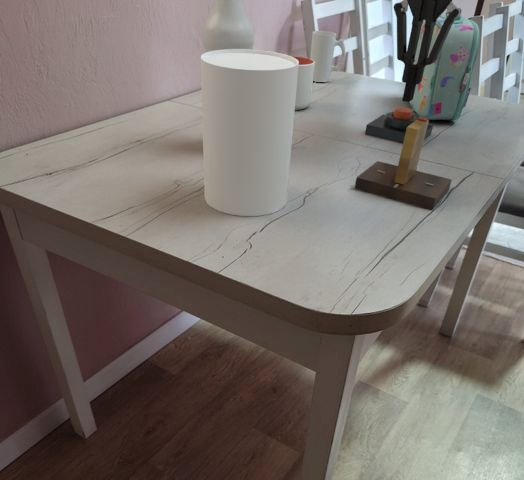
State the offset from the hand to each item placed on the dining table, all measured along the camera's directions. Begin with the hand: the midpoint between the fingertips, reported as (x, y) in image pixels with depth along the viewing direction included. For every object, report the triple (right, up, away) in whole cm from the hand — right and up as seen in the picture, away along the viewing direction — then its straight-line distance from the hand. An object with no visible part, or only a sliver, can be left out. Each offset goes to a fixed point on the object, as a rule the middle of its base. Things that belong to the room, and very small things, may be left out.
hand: (407, 100), depth 104 cm
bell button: (-1, -3, +3) cm, 4 cm away
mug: (-13, +26, +40) cm, 50 cm away
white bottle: (-38, -13, -6) cm, 41 cm away
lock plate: (-6, -25, -18) cm, 32 cm away
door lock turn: (-6, -24, -20) cm, 31 cm away
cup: (-24, +8, +19) cm, 32 cm away
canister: (-34, -29, -24) cm, 50 cm away
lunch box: (+12, +7, +21) cm, 25 cm away
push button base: (-1, -5, +5) cm, 7 cm away
